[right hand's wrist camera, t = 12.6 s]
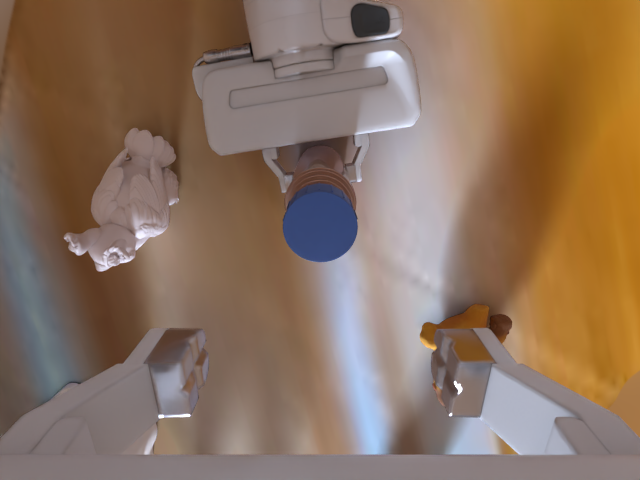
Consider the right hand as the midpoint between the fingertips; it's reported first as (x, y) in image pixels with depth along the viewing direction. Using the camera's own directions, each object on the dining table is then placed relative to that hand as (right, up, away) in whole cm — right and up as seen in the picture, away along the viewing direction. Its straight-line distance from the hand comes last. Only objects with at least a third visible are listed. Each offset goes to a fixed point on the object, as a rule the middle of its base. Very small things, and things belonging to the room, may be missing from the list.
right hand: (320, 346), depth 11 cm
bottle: (0, +12, +30) cm, 33 cm away
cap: (0, +4, +11) cm, 11 cm away
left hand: (0, +9, +25) cm, 27 cm away
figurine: (-20, +9, +31) cm, 38 cm away
